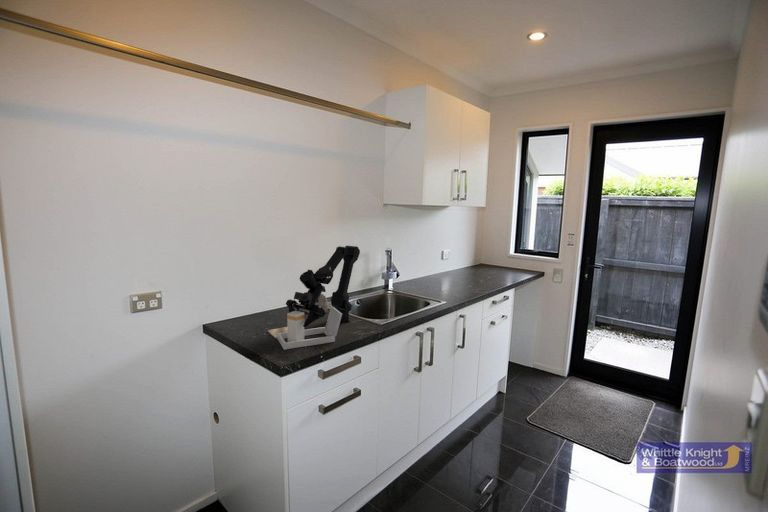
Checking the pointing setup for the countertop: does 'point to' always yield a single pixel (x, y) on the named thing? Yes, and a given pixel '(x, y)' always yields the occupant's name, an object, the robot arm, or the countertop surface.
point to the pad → (278, 331)
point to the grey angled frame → (315, 332)
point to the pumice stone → (321, 303)
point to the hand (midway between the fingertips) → (295, 324)
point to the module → (295, 326)
